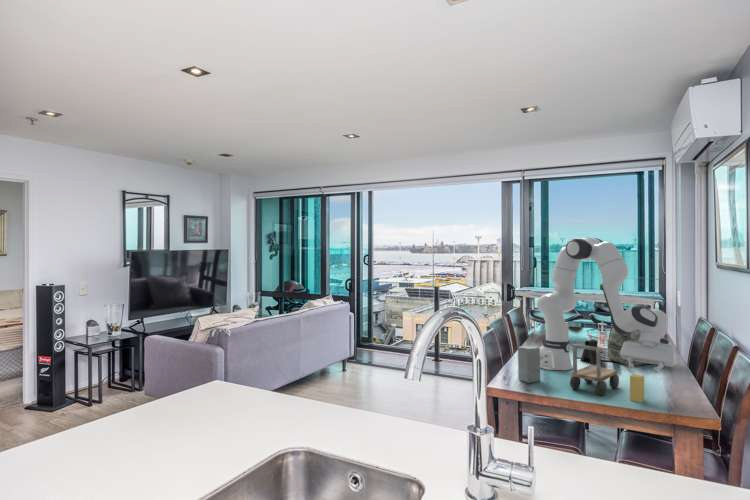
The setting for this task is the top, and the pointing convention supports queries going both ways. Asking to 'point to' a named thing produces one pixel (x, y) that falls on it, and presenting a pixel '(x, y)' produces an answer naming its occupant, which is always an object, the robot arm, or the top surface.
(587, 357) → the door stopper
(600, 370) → the trolley
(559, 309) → the robot arm
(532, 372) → the gray hexagonal prism
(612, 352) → the lunch bag
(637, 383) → the yellow rectangular block
